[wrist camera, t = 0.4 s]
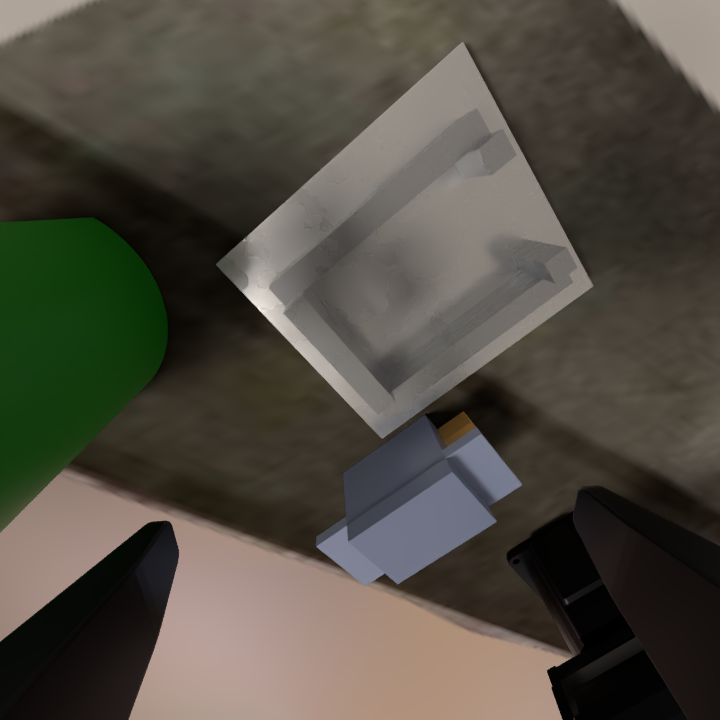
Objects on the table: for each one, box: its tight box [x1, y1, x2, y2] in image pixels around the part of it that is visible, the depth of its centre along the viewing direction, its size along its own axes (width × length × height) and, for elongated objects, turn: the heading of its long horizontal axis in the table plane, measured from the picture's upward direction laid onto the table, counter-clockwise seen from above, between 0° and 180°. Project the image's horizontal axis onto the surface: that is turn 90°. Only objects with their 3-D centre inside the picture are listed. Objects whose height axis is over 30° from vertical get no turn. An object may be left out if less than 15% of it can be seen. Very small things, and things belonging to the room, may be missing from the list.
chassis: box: [216, 42, 593, 438], centre depth 17 cm, size 12×13×4 cm
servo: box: [316, 411, 522, 586], centre depth 21 cm, size 4×10×5 cm, turn 128°
